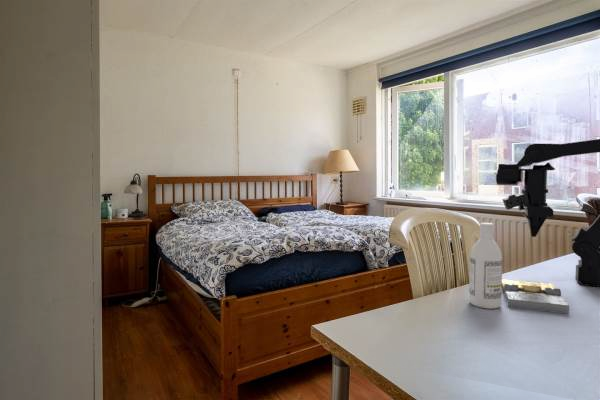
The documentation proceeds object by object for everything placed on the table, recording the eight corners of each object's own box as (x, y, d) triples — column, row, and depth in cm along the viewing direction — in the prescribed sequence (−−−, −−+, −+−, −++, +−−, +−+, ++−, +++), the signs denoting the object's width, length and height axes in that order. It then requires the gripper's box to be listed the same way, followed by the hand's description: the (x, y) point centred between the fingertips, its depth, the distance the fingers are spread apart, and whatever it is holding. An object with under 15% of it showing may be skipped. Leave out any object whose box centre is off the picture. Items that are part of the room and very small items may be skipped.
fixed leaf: (558, 300, 91) (558, 287, 91) (568, 313, 83) (569, 300, 82) (503, 294, 96) (504, 282, 96) (508, 306, 87) (508, 293, 87)
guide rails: (550, 286, 102) (550, 283, 102) (561, 299, 91) (561, 296, 91) (495, 280, 107) (495, 278, 107) (499, 293, 97) (500, 290, 97)
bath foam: (505, 304, 89) (508, 223, 87) (493, 311, 85) (495, 226, 83) (477, 297, 94) (478, 220, 93) (464, 303, 90) (465, 223, 88)
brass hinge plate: (551, 291, 98) (551, 279, 98) (560, 302, 90) (560, 289, 89) (500, 286, 103) (501, 275, 103) (504, 296, 94) (505, 284, 94)
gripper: (501, 184, 122) (500, 230, 123) (508, 187, 105) (507, 240, 106) (540, 184, 118) (539, 232, 119) (554, 187, 101) (552, 243, 102)
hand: (533, 236), depth 112 cm, fingers closed
